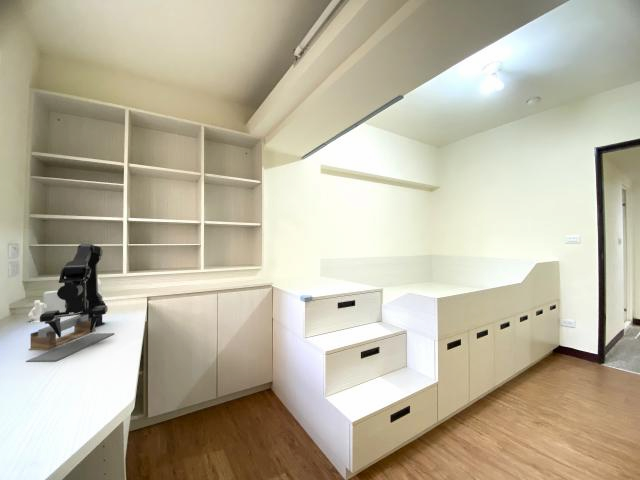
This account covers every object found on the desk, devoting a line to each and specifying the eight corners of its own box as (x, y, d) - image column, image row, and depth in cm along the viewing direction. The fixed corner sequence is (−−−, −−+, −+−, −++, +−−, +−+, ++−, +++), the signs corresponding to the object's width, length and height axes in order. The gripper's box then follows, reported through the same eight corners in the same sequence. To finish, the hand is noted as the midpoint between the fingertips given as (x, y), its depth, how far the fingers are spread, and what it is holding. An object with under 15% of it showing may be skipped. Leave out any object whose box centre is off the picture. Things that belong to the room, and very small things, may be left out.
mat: (114, 334, 113) (114, 333, 113) (56, 361, 87) (56, 360, 87) (91, 334, 113) (91, 333, 113) (26, 362, 87) (26, 360, 87)
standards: (80, 331, 117) (80, 317, 118) (95, 330, 118) (95, 317, 118) (28, 351, 96) (28, 334, 96) (48, 350, 96) (48, 333, 96)
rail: (81, 320, 117) (81, 314, 117) (88, 320, 118) (88, 313, 118) (38, 337, 96) (38, 330, 96) (46, 337, 97) (46, 329, 97)
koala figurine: (45, 323, 130) (45, 300, 130) (25, 326, 125) (25, 302, 126) (48, 319, 136) (48, 297, 136) (30, 322, 132) (30, 299, 132)
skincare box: (66, 314, 145) (66, 289, 145) (65, 317, 140) (65, 290, 140) (45, 317, 139) (45, 291, 140) (43, 320, 135) (43, 292, 135)
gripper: (109, 289, 112) (109, 324, 112) (50, 294, 102) (50, 333, 102) (105, 294, 102) (104, 332, 102) (39, 299, 92) (38, 342, 92)
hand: (75, 334), depth 100 cm, fingers open, 9 cm apart
